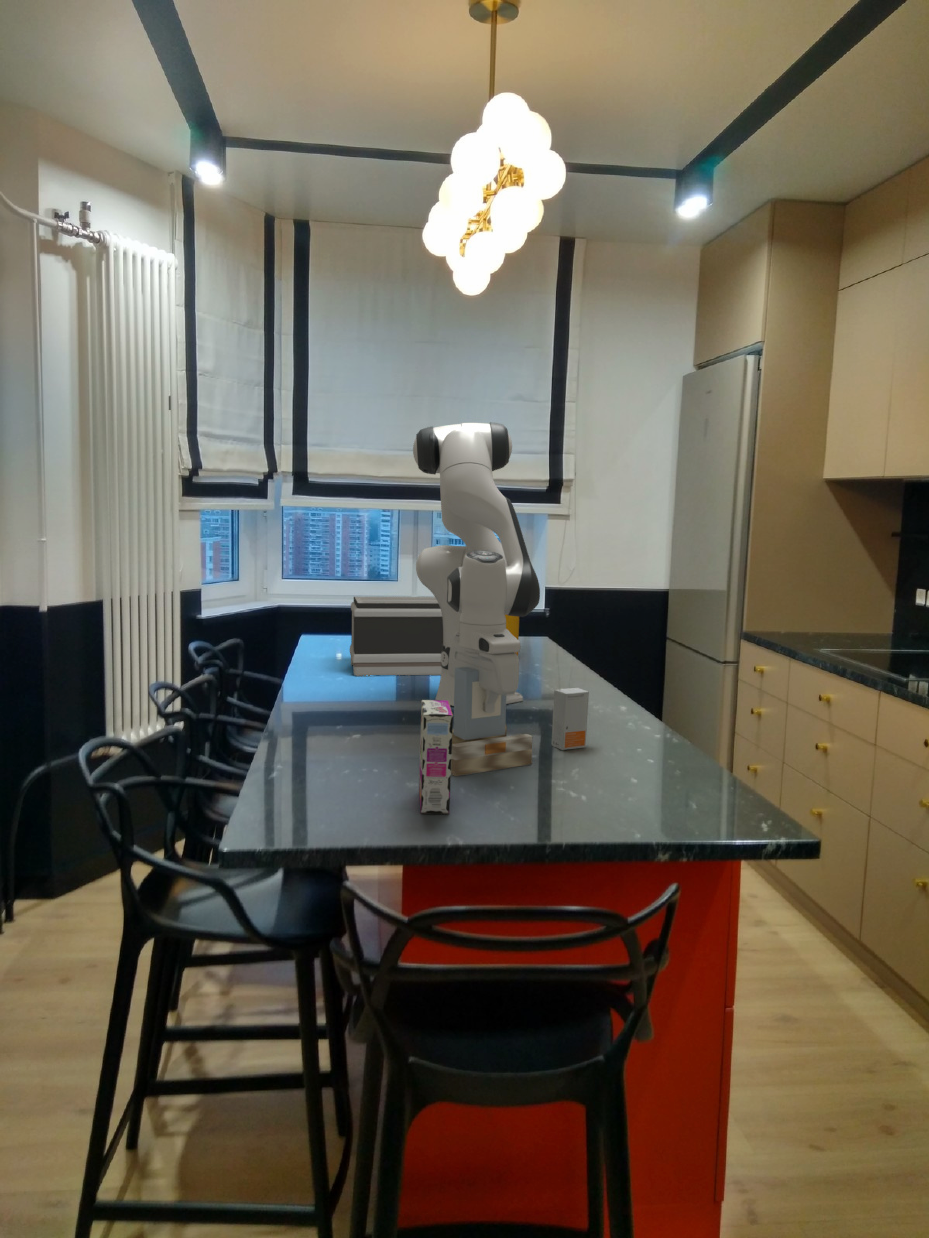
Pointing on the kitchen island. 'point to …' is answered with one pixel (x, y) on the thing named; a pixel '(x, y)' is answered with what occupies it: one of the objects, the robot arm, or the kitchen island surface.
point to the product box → (475, 708)
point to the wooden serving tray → (490, 753)
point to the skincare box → (570, 718)
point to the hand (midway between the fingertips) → (480, 708)
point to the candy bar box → (435, 756)
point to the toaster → (396, 636)
